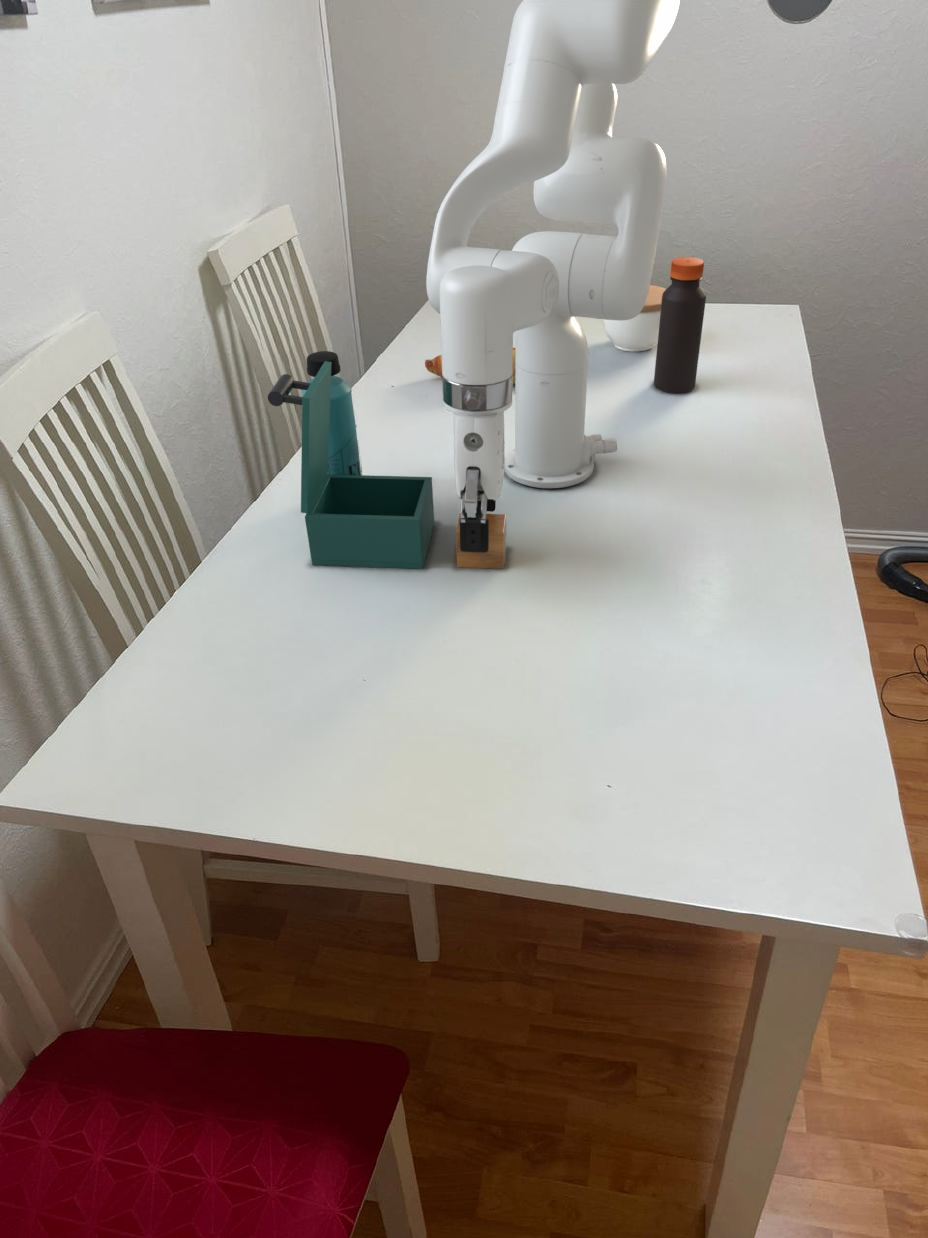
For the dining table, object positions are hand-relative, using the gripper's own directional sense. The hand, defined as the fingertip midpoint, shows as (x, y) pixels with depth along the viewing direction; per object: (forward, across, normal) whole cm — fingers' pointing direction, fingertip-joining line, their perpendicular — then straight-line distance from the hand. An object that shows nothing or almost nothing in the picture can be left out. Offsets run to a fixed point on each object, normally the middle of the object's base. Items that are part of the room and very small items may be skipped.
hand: (478, 529), depth 108 cm
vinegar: (+3, +55, -27) cm, 62 cm away
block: (+4, +1, 0) cm, 5 cm away
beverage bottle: (+4, +15, +20) cm, 25 cm away
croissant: (+3, +57, +4) cm, 57 cm away
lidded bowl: (+2, +75, -21) cm, 78 cm away
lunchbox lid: (-10, +3, +19) cm, 21 cm away
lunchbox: (+4, +3, +13) cm, 15 cm away
